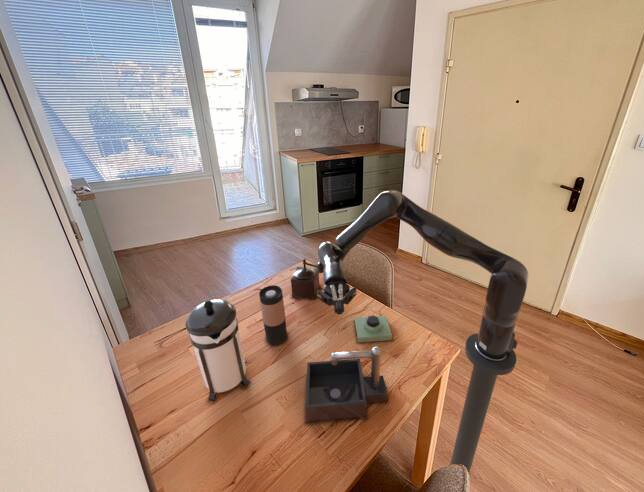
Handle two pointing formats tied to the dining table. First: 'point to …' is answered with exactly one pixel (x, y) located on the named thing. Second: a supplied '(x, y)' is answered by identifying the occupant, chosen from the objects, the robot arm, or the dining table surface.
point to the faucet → (373, 354)
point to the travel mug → (273, 314)
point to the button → (373, 321)
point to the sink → (339, 391)
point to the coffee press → (217, 345)
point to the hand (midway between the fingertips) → (339, 311)
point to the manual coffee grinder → (306, 281)
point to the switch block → (372, 330)
